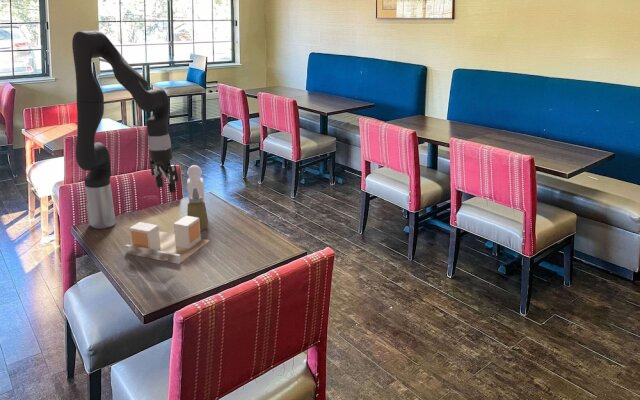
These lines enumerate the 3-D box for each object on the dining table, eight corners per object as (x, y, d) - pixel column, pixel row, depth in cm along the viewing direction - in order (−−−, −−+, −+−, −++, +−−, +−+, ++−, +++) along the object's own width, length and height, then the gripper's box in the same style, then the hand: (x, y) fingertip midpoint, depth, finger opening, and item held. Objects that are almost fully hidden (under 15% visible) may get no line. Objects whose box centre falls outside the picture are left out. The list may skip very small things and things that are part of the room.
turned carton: (175, 246, 198) (173, 223, 195) (188, 237, 205) (186, 215, 202) (189, 248, 196) (187, 226, 193) (201, 240, 203) (199, 217, 200)
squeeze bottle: (204, 236, 209) (200, 192, 203) (184, 234, 211) (180, 191, 204) (212, 228, 217) (209, 185, 210) (192, 226, 218) (189, 184, 212)
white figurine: (205, 217, 227) (202, 167, 219) (189, 218, 225) (185, 168, 217) (205, 211, 233) (202, 162, 225) (190, 212, 231) (186, 163, 223)
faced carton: (142, 244, 199) (139, 221, 196) (160, 248, 197) (158, 225, 193) (131, 251, 194) (128, 228, 191) (150, 255, 191) (147, 231, 188)
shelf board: (125, 257, 193) (124, 245, 191) (160, 234, 211) (159, 224, 209) (179, 268, 186) (178, 256, 184) (210, 243, 204) (209, 232, 202)
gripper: (140, 145, 195) (147, 188, 201) (161, 152, 185) (167, 197, 191) (159, 141, 200) (165, 183, 206) (180, 147, 190) (186, 191, 196)
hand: (166, 189), depth 198 cm, fingers open, 8 cm apart
